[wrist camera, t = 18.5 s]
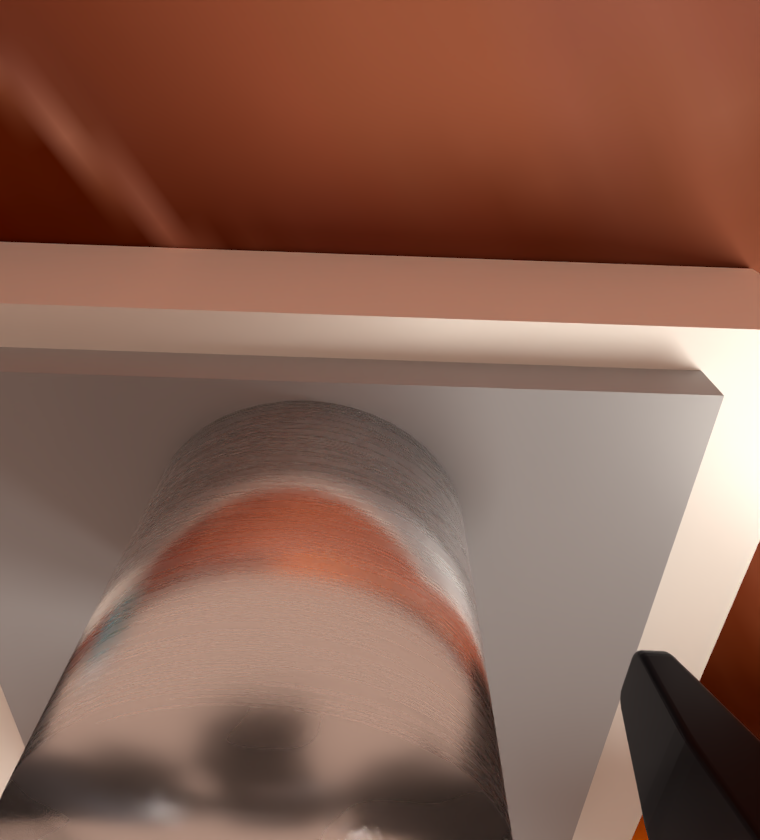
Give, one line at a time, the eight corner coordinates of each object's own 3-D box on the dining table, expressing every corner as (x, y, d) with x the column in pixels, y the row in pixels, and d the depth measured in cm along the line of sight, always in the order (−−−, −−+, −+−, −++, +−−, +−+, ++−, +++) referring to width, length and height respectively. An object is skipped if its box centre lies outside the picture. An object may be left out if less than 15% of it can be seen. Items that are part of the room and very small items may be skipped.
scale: (751, 268, 12) (884, 356, 9) (586, 771, 21) (624, 911, 17) (-444, 225, 12) (-752, 300, 9) (-130, 752, 20) (-228, 892, 17)
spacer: (479, 406, 10) (556, 716, 5) (449, 645, 12) (483, 985, 8) (132, 394, 10) (-80, 697, 5) (174, 636, 12) (55, 974, 8)
